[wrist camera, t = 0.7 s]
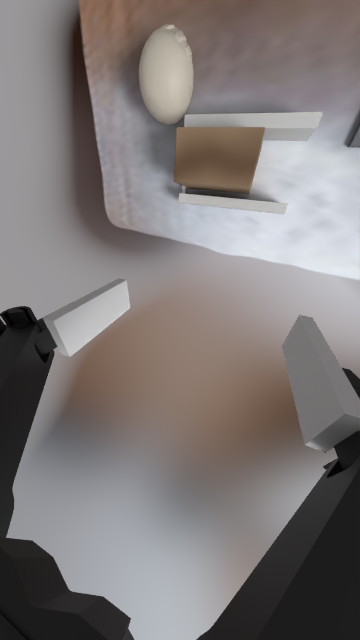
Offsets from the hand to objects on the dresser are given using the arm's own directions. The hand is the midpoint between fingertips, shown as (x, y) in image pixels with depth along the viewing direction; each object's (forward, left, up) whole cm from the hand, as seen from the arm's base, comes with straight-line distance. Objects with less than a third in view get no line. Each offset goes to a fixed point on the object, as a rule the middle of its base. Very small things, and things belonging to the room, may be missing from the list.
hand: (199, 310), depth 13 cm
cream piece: (-20, -13, -24) cm, 34 cm away
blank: (-12, -4, -24) cm, 27 cm away
